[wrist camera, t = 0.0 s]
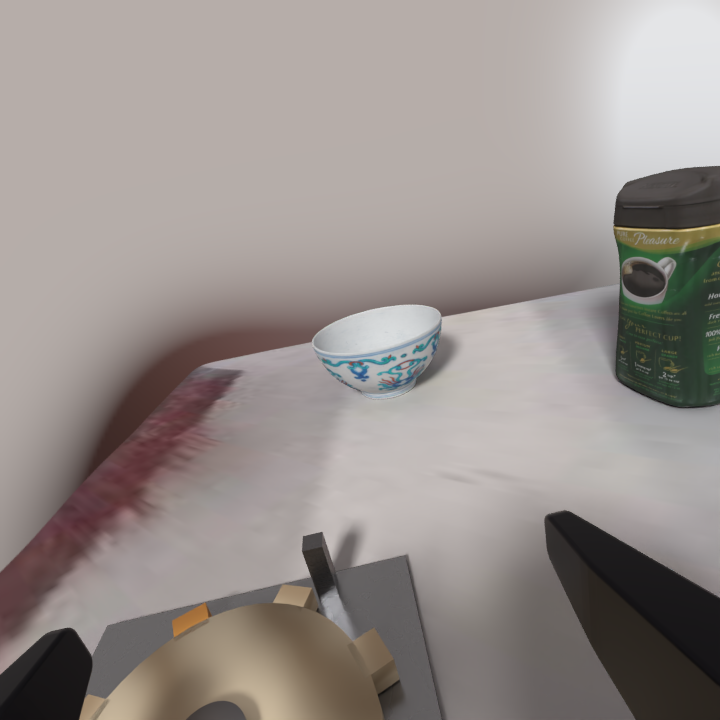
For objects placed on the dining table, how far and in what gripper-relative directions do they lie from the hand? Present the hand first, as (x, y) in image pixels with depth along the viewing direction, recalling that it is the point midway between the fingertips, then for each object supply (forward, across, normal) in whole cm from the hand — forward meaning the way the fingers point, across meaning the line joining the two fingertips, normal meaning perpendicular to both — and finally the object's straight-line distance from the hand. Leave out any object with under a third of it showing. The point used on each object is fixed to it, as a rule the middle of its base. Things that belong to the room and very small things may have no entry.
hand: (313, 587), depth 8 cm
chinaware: (+43, -4, +17) cm, 46 cm away
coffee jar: (+29, -29, +17) cm, 44 cm away
